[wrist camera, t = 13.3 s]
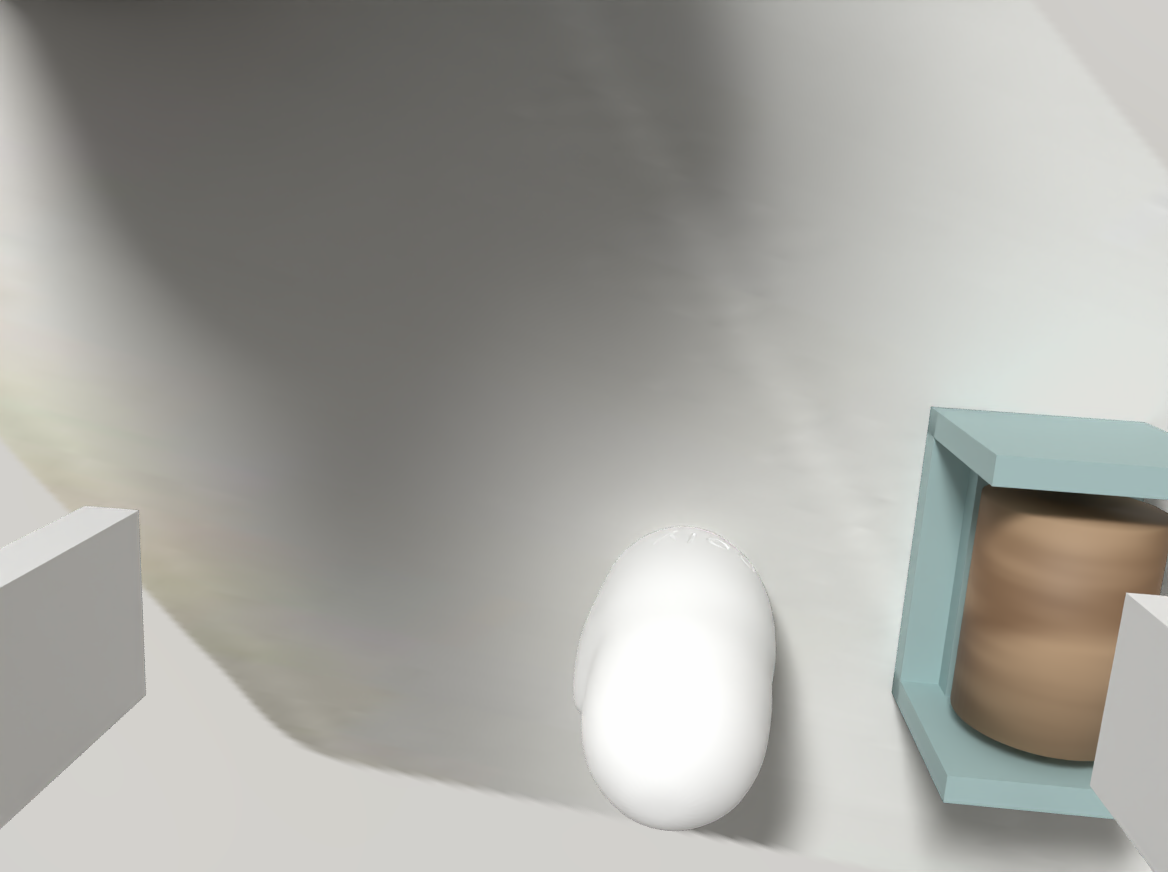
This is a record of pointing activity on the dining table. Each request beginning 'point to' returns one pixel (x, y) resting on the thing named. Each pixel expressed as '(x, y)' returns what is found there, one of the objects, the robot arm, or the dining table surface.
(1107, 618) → the roll
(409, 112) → the dining table surface
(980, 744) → the cradle
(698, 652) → the figurine
